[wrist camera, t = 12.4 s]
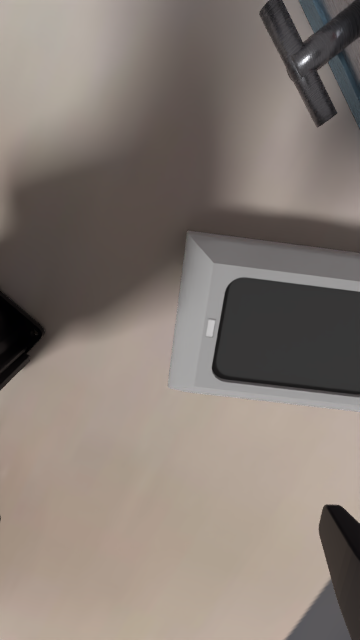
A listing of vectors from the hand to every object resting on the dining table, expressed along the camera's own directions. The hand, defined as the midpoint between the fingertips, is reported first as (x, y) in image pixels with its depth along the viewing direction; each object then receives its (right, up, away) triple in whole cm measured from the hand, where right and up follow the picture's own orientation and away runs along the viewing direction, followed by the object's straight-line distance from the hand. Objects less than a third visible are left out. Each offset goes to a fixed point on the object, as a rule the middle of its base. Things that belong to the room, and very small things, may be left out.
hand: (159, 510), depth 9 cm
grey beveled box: (+8, +5, +13) cm, 16 cm away
